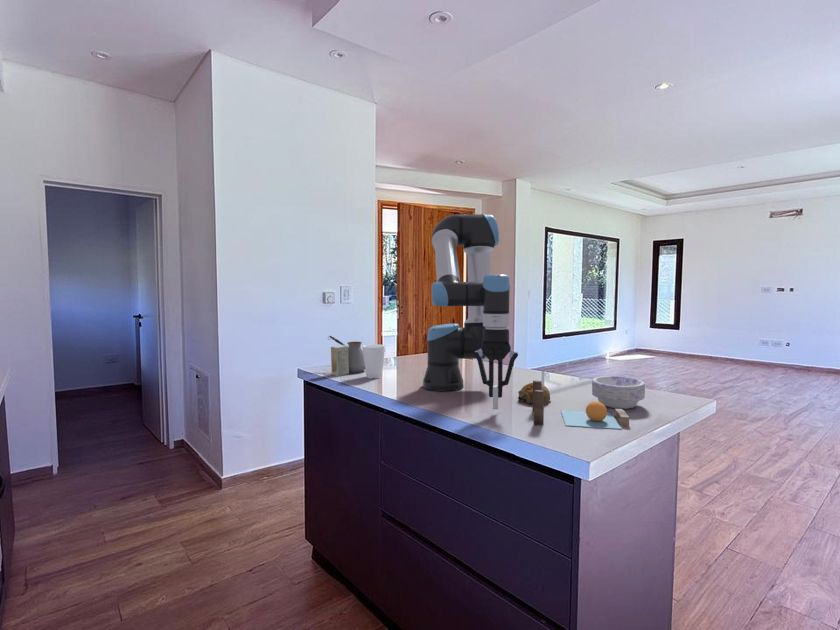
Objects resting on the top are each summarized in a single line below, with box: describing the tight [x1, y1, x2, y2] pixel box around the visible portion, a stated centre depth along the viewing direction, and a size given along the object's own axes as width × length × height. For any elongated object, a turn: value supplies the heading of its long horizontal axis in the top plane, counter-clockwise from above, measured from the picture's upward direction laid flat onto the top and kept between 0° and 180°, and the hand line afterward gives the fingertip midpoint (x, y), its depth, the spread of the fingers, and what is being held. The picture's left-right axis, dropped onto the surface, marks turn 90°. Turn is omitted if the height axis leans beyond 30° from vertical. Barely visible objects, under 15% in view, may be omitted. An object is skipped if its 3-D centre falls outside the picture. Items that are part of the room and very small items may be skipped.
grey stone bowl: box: [591, 375, 646, 410], centre depth 140 cm, size 15×15×8 cm
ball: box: [585, 400, 608, 422], centre depth 124 cm, size 6×6×6 cm
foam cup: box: [361, 343, 386, 379], centre depth 184 cm, size 10×9×13 cm
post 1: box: [532, 379, 543, 412], centre depth 134 cm, size 3×3×9 cm
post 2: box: [533, 390, 545, 426], centre depth 122 cm, size 3×3×9 cm
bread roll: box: [517, 382, 552, 405], centre depth 145 cm, size 10×10×8 cm
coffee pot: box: [327, 335, 366, 374], centre depth 200 cm, size 21×12×15 cm, turn 57°
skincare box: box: [330, 344, 350, 377], centre depth 190 cm, size 6×4×12 cm
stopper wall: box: [614, 408, 630, 427], centre depth 123 cm, size 8×2×2 cm, turn 167°
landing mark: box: [560, 410, 622, 430], centre depth 125 cm, size 14×14×1 cm
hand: (495, 408), depth 131 cm, fingers closed
